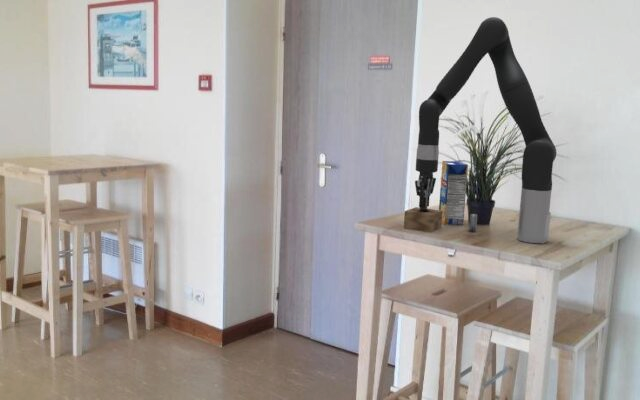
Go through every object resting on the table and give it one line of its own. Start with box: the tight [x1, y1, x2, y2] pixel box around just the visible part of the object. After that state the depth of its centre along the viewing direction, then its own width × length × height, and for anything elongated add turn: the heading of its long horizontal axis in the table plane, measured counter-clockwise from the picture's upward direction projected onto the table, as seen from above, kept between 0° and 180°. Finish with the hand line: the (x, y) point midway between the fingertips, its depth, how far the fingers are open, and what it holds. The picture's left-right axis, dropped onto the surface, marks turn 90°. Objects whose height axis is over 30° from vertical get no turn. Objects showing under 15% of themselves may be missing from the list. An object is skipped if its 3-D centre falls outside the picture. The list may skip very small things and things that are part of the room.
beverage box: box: [438, 160, 469, 226], centre depth 228 cm, size 7×11×22 cm, turn 1°
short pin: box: [468, 213, 478, 233], centre depth 214 cm, size 2×2×6 cm
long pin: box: [419, 187, 428, 212], centre depth 216 cm, size 2×2×11 cm
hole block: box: [403, 206, 443, 233], centre depth 217 cm, size 10×10×6 cm
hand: (423, 206), depth 217 cm, fingers closed on long pin, 2 cm apart
